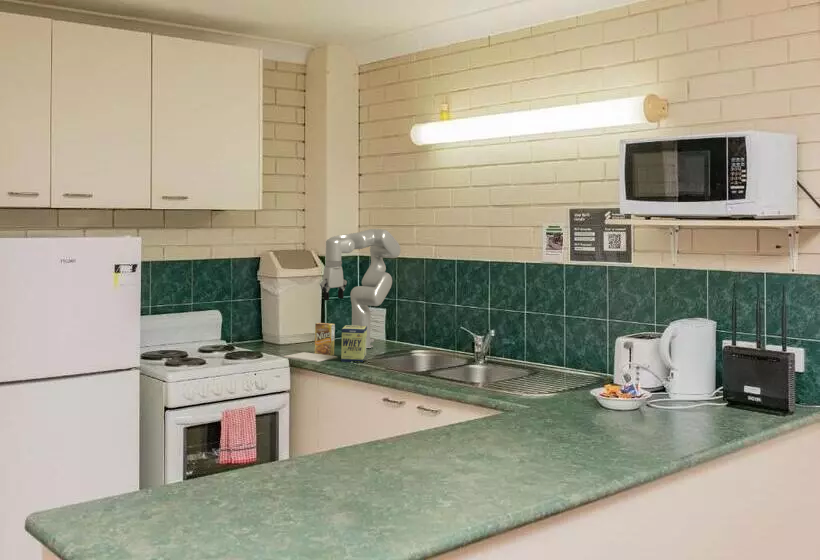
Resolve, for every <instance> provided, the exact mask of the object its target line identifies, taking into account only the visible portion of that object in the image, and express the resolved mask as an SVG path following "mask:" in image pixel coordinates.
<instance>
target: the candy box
mask: <svg viewBox="0 0 820 560" xmlns="http://www.w3.org/2000/svg"><path fill="white" fill-rule="evenodd" d="M314 327H315V328H314V329H315V330H314V353H315V354H322V355H330V356H335V338H336V337H335V330H336V324H335V323H329V322H328V323H327V322H315V326H314Z"/></svg>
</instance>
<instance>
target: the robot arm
mask: <svg viewBox="0 0 820 560" xmlns="http://www.w3.org/2000/svg"><path fill="white" fill-rule="evenodd" d="M366 248H369V255H370V260H371V262H370V264H369V266H368V268H367V270H366V272H365V273H364V275H363V277H362V279H361V285H358V286H357V285H356V286H354V287H353V288H352V289H351V291H350V302H351V325H358V326H367V342H366V348H371V347H374V345H373V344H371V343H374V342H375V338H371V318H372V317H371V315H372V314H371V310H370V307H369V306H371V307H378V306H380V305H382V303H383V302H384V301H385V299H386V297H387V295H388V294H389V292H390V291H391V290H390V289H391V288H392V285H393V277H392V276H391V274H390V273H388V272H386V270H387V268H386V267H387V266H386V264H385V262H384V259H385V258H386V259H396V258H398V257H399V256H400V255H401V250H402V249H401V246H400V243H399V242H398V241H397V240H396V238H395V237H394V236H393V235H392V233H391V232H390V231H388V230H386V229H381V228H380V229H379V228H378V229H376V228H372V229H371V228H370V229H365V230H362V231H359V232H353V233H348V234H347V233H345V234H341V235H340V234H339V235H336V236H332V237H329V238H328V239H326V241H325V267H324V269H323V276H322V281H321V282H320V283H319V286H320V288H321V289H320V290H322V292H323V300H324V301H330V292H329V291H330V289H335V288H337V289H338V291H337V298H338V299H340V300H341V299H344V291H345V290H346V287H347V283H348V280H346V279H344V271H343V267H342V264H343V261H342V254H351V253H352V252H354V250H363V249H366ZM371 349H372V348H371Z"/></svg>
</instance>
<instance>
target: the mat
mask: <svg viewBox="0 0 820 560" xmlns="http://www.w3.org/2000/svg"><path fill="white" fill-rule="evenodd" d="M282 357H283V358H286V359H292V360H293V359H294V360H301V361H308V362H315V363H318V362H319V363H320V362H322V361H324V362H325V361H328V360H334V359H338V356H337V355H332V356H330V355H322V354H315V352H305V351H303V352H298V353H293V354H288V355H283V356H282Z"/></svg>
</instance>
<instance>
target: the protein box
mask: <svg viewBox="0 0 820 560" xmlns="http://www.w3.org/2000/svg"><path fill="white" fill-rule="evenodd" d="M366 342H367V326H358V325H352V324H351V325H350V324H346V325H344V326H343V327H342V328H341V344H340V345H341V347H340V348H341V351H340V356H341V357H340V358H341V359H340V361H341V362H342V363H352V362H351V361H360V362H363V360H364V358H365V357H366V358H367V349H366ZM364 361H365V360H364ZM363 363H364V362H363Z"/></svg>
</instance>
